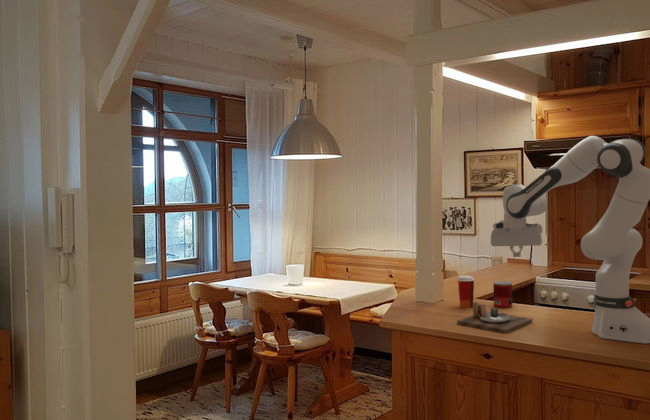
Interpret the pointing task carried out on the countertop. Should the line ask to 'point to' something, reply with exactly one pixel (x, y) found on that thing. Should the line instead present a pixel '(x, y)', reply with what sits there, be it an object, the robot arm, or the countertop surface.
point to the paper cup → (466, 291)
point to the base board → (496, 327)
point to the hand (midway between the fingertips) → (516, 256)
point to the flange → (491, 315)
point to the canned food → (502, 294)
